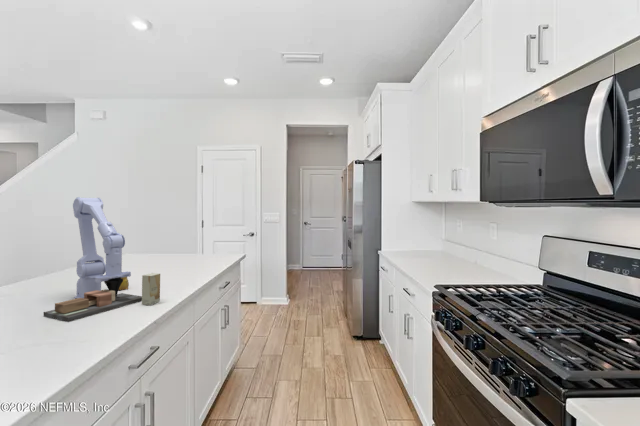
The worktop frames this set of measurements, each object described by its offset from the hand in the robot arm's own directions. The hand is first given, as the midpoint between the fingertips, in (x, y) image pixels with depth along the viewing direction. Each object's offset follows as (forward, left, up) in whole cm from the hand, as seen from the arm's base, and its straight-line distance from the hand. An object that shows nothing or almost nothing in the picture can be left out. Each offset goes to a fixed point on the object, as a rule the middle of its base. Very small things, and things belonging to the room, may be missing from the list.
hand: (113, 296), depth 146 cm
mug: (-22, +20, -3) cm, 30 cm away
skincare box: (+13, +7, -3) cm, 15 cm away
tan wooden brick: (0, -11, -1) cm, 11 cm away
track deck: (0, -7, -3) cm, 7 cm away
